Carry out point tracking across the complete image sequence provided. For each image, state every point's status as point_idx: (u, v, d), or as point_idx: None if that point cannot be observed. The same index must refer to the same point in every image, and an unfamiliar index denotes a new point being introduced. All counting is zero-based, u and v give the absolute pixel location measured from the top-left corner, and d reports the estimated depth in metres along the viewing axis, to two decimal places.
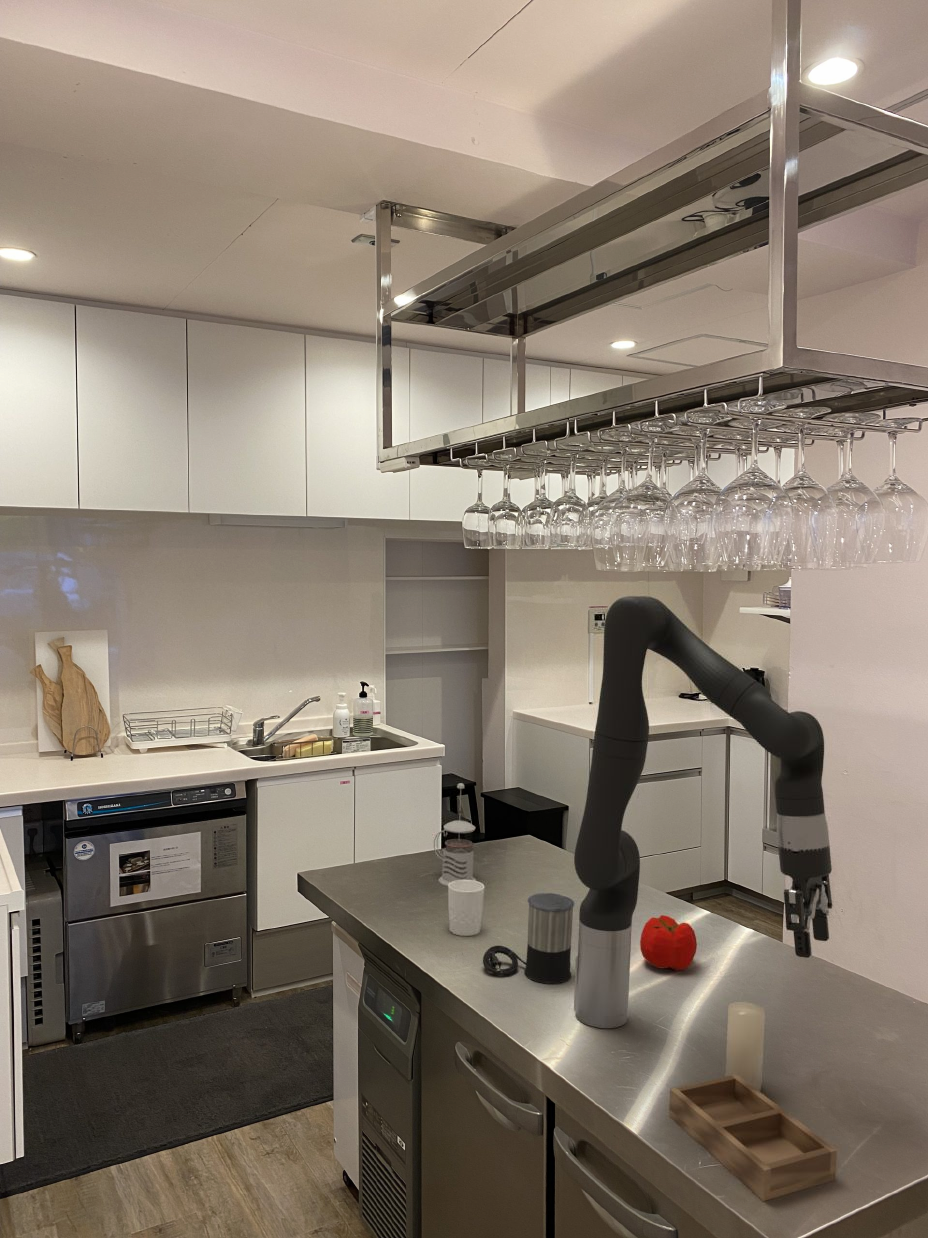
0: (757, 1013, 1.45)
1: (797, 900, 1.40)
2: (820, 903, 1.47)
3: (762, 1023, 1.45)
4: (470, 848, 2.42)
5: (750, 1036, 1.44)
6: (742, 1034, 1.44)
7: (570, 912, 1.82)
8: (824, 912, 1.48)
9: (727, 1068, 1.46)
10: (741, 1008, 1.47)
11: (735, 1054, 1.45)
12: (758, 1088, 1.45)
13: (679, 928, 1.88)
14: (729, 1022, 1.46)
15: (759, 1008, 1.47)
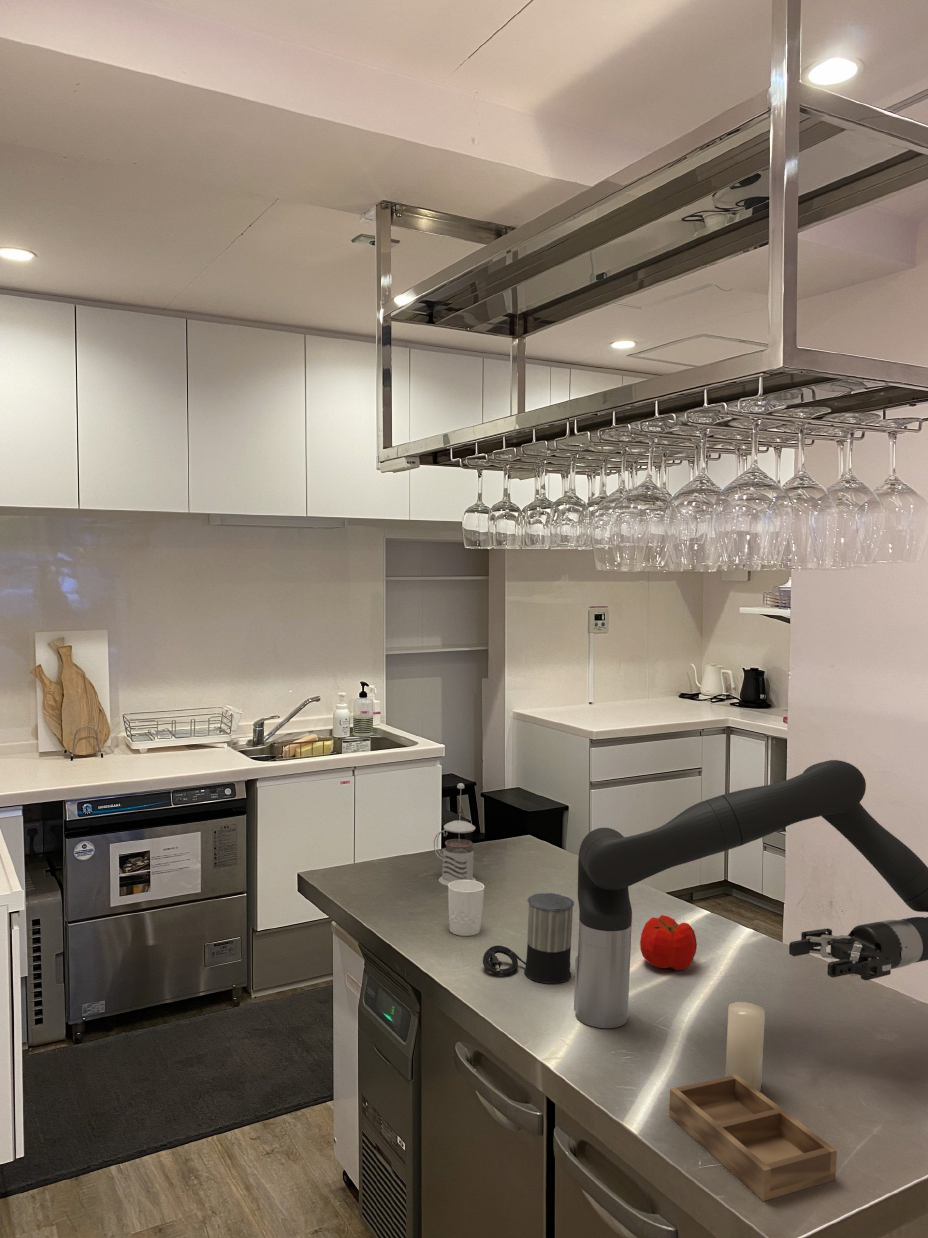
0: (757, 1013, 1.45)
1: (886, 972, 1.48)
2: (826, 952, 1.56)
3: (762, 1023, 1.45)
4: (470, 848, 2.42)
5: (750, 1036, 1.44)
6: (742, 1034, 1.44)
7: (570, 912, 1.82)
8: (814, 952, 1.56)
9: (727, 1068, 1.46)
10: (741, 1008, 1.47)
11: (735, 1054, 1.45)
12: (758, 1088, 1.45)
13: (679, 928, 1.88)
14: (729, 1022, 1.46)
15: (759, 1008, 1.47)
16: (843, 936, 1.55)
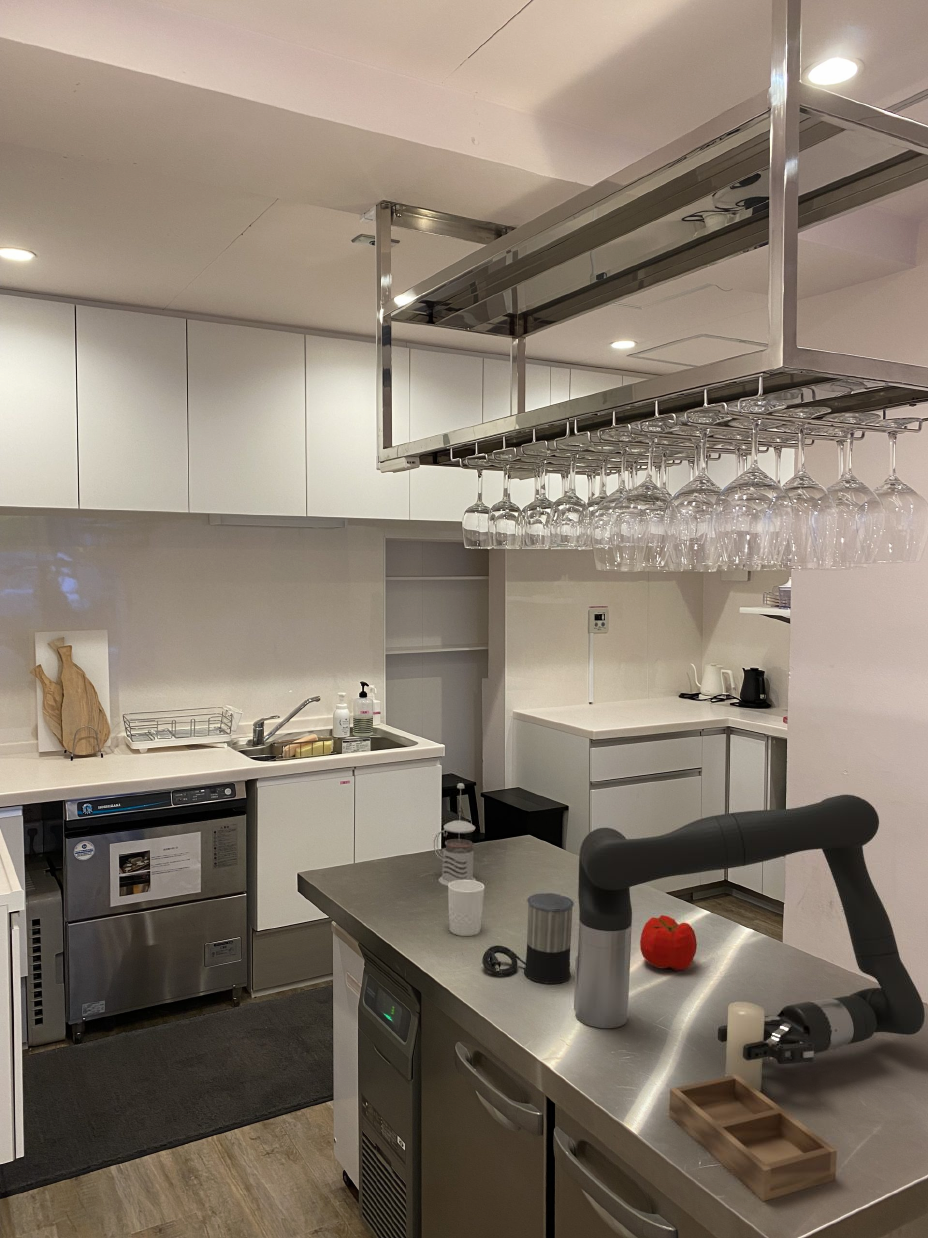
0: (756, 1013, 1.45)
1: (807, 1059, 1.43)
2: None
3: (762, 1023, 1.45)
4: (470, 848, 2.42)
5: (750, 1036, 1.44)
6: (742, 1034, 1.44)
7: (569, 912, 1.82)
8: None
9: (727, 1068, 1.46)
10: (741, 1007, 1.47)
11: (735, 1054, 1.45)
12: (758, 1088, 1.45)
13: (679, 928, 1.88)
14: (729, 1022, 1.46)
15: (759, 1008, 1.47)
16: (772, 1017, 1.51)
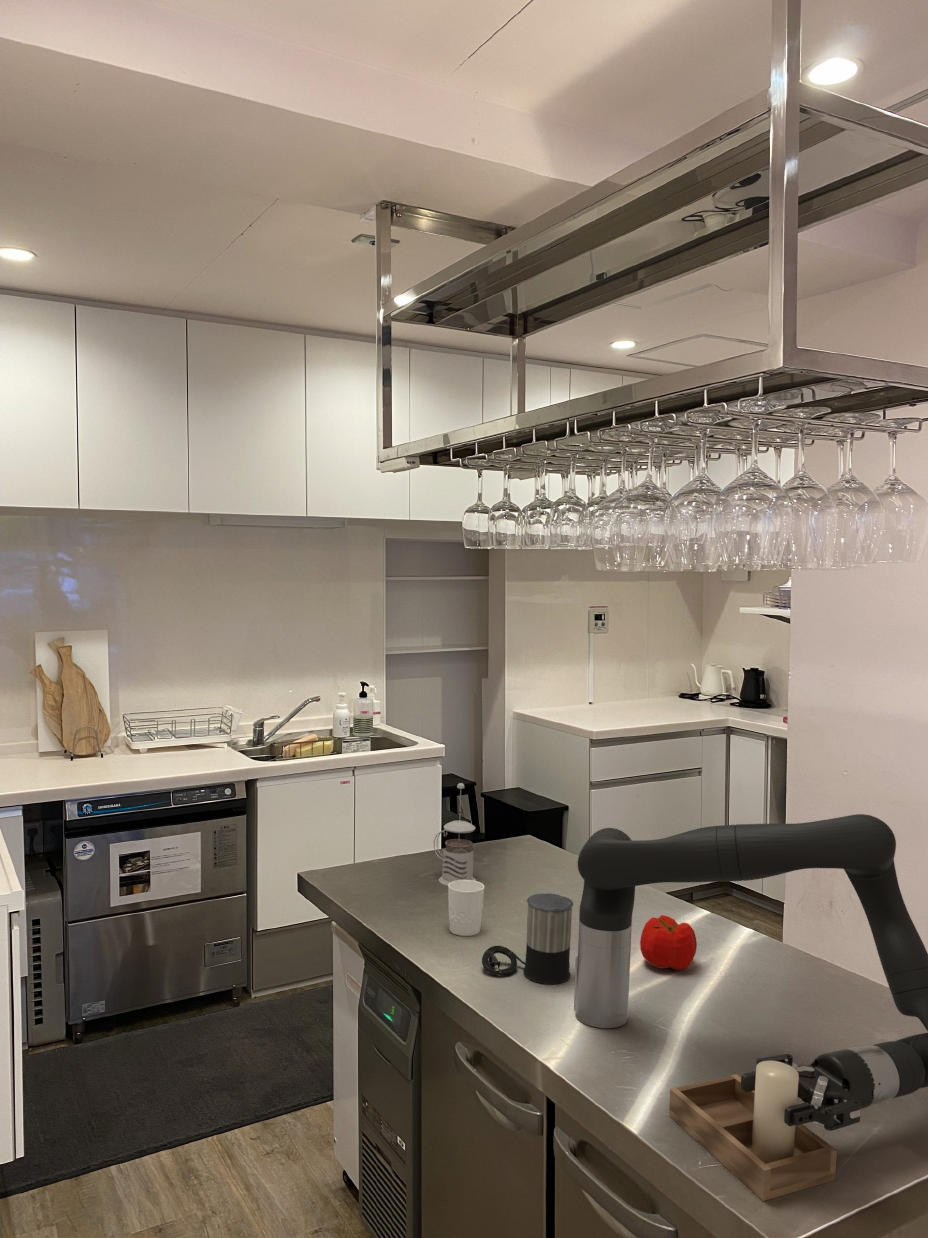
0: (789, 1076, 1.25)
1: (855, 1120, 1.23)
2: None
3: (796, 1088, 1.24)
4: (470, 848, 2.42)
5: (782, 1103, 1.24)
6: (772, 1100, 1.24)
7: (569, 912, 1.82)
8: None
9: (754, 1139, 1.26)
10: (771, 1068, 1.27)
11: (764, 1123, 1.25)
12: None
13: (679, 928, 1.88)
14: (757, 1085, 1.26)
15: (792, 1069, 1.27)
16: (805, 1067, 1.30)
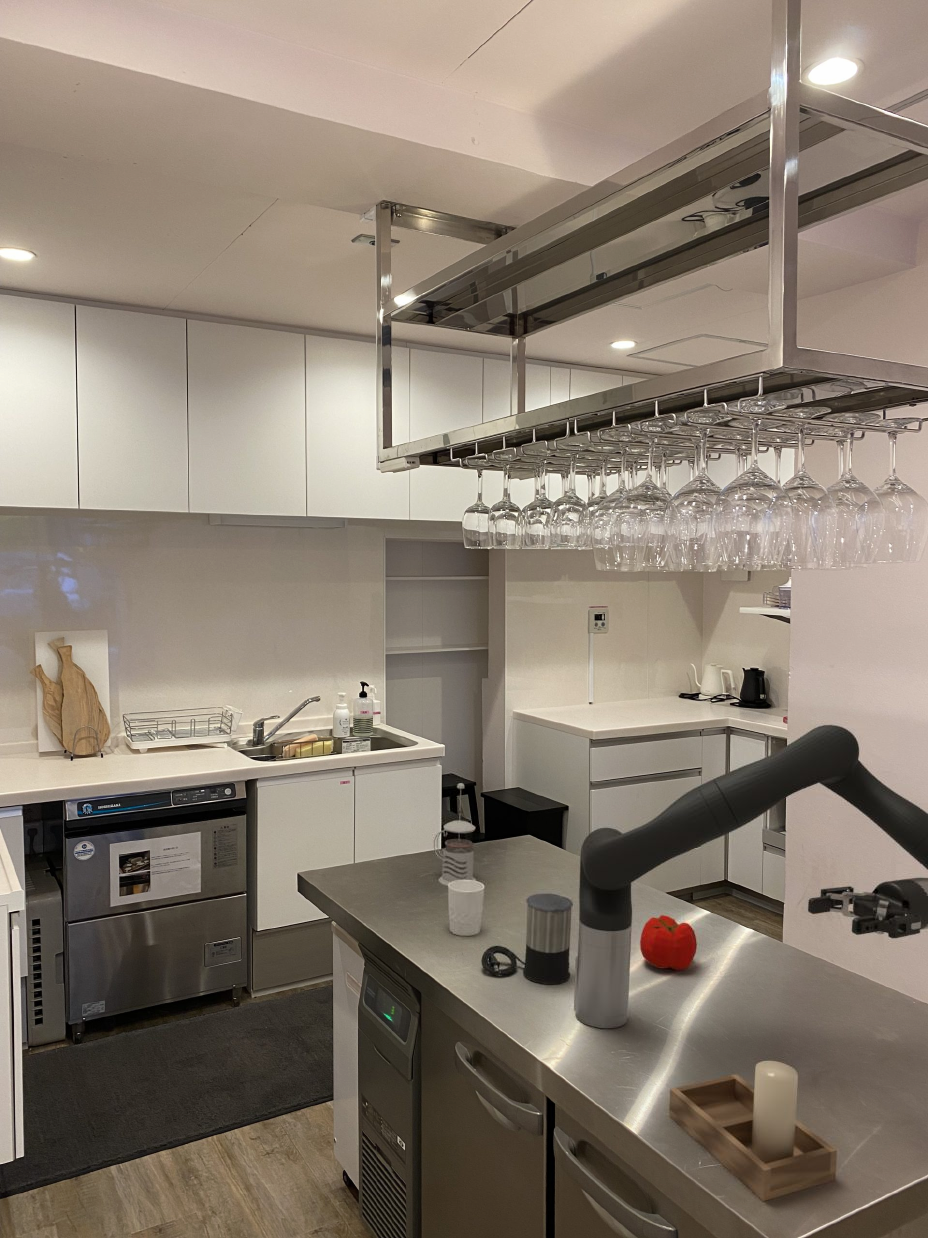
0: (788, 1076, 1.25)
1: (915, 931, 1.35)
2: (848, 910, 1.43)
3: (795, 1088, 1.24)
4: (470, 848, 2.42)
5: (781, 1103, 1.24)
6: (771, 1101, 1.24)
7: (568, 912, 1.82)
8: (835, 910, 1.43)
9: (754, 1139, 1.26)
10: (770, 1068, 1.27)
11: (764, 1123, 1.25)
12: None
13: (679, 928, 1.88)
14: (756, 1086, 1.26)
15: (791, 1069, 1.27)
16: (867, 893, 1.42)
